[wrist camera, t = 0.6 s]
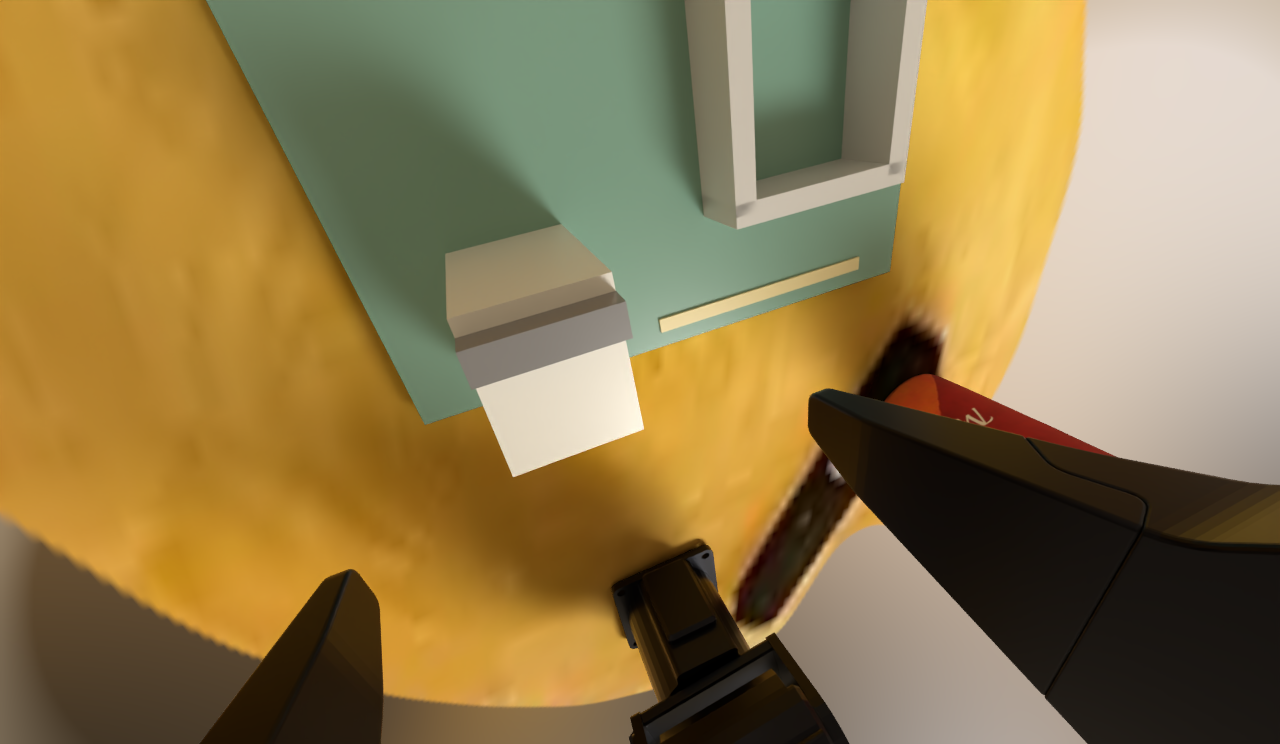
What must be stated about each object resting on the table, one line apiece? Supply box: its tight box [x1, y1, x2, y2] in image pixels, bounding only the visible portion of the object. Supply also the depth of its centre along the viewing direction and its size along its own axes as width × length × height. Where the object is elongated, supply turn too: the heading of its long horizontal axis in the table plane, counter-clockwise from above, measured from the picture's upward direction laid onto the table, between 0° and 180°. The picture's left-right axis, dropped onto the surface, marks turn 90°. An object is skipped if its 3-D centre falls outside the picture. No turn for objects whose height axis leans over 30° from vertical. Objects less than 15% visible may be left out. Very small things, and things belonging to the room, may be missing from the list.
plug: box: [445, 224, 644, 477], centre depth 15 cm, size 5×4×7 cm
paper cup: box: [884, 374, 1116, 457], centre depth 25 cm, size 8×8×14 cm
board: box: [206, 0, 927, 425], centre depth 16 cm, size 14×22×4 cm, turn 99°
